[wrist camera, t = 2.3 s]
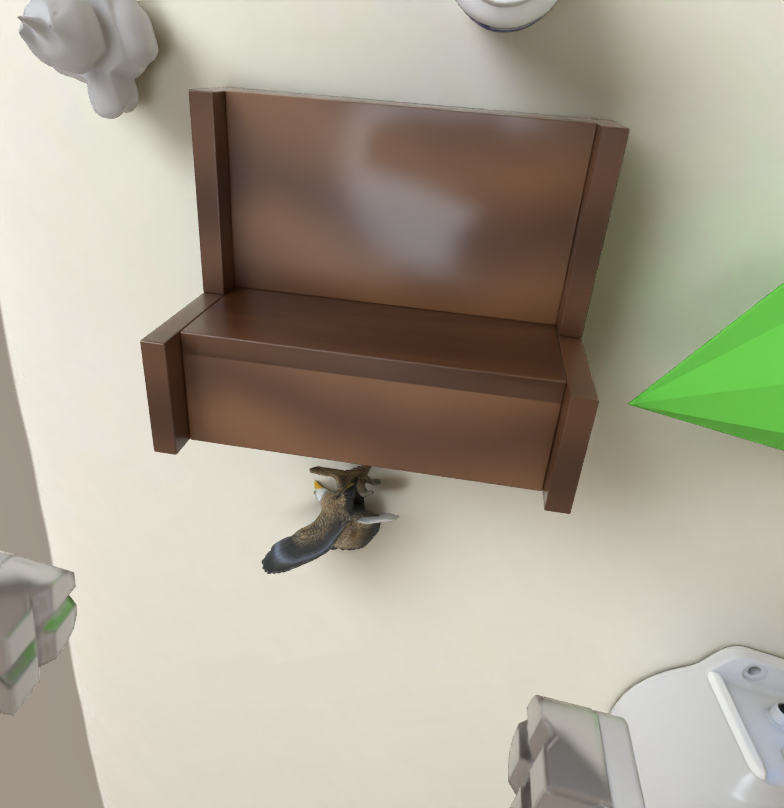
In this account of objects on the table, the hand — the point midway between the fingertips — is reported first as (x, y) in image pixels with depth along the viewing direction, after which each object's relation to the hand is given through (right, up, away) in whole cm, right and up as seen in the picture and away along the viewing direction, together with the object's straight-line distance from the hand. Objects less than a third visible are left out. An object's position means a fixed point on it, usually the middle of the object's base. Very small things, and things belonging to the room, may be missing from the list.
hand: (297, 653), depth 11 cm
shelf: (+2, +13, +26) cm, 29 cm away
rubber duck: (-13, +23, +23) cm, 35 cm away
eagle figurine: (-2, -2, +35) cm, 35 cm away
